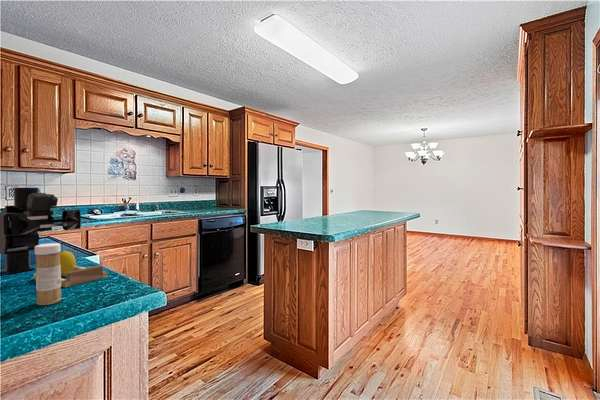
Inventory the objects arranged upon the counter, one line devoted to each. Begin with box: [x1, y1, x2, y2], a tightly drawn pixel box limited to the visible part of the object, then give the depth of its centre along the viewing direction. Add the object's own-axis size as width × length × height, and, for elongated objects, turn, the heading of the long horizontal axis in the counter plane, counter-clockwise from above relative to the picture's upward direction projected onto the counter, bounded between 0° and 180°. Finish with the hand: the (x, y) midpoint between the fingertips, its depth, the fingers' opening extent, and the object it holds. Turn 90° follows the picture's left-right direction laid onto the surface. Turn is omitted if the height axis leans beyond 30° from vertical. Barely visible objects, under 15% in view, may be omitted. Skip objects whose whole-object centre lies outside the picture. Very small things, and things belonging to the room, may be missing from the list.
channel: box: [33, 265, 108, 288], centre depth 89 cm, size 17×11×4 cm, turn 63°
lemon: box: [60, 249, 77, 278], centre depth 90 cm, size 6×6×8 cm
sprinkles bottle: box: [34, 242, 62, 306], centre depth 69 cm, size 5×5×13 cm
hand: (59, 223), depth 85 cm, fingers open, 9 cm apart
